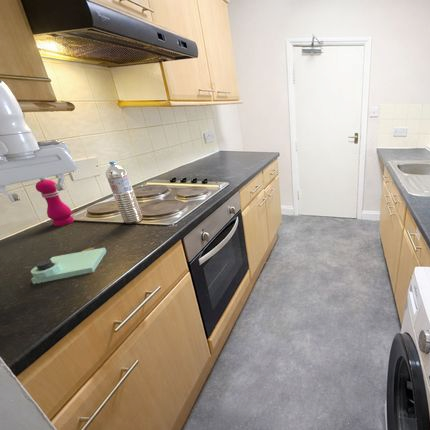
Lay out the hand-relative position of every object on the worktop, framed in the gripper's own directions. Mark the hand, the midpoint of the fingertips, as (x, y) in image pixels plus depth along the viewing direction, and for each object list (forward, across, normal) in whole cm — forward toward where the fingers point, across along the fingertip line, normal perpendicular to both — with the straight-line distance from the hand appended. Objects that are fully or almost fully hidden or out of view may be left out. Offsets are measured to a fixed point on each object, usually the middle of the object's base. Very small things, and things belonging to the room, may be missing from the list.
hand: (39, 195), depth 74 cm
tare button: (+20, +6, +3) cm, 21 cm away
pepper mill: (+23, -9, -39) cm, 46 cm away
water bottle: (+23, -25, -15) cm, 37 cm away
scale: (+23, +1, +3) cm, 23 cm away
